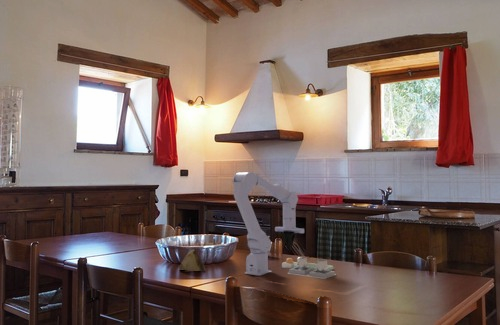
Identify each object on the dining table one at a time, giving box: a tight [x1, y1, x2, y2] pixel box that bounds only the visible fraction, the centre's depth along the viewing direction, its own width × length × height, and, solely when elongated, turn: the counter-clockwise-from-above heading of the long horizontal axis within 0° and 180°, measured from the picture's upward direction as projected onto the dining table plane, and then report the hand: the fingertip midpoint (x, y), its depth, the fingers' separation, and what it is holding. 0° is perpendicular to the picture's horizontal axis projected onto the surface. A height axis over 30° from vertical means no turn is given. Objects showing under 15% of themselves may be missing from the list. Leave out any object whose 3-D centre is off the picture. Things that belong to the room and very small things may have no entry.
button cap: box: [286, 257, 294, 264], centre depth 207 cm, size 3×3×3 cm
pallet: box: [287, 267, 337, 280], centre depth 191 cm, size 10×18×2 cm, turn 52°
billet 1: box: [296, 256, 308, 271], centre depth 195 cm, size 4×4×6 cm
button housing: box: [281, 261, 297, 269], centre depth 207 cm, size 5×5×2 cm
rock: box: [178, 248, 206, 272], centre depth 204 cm, size 11×9×10 cm
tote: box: [293, 262, 334, 271], centre depth 202 cm, size 8×15×2 cm, turn 52°
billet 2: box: [316, 259, 328, 274], centre depth 188 cm, size 4×4×6 cm
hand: (289, 248), depth 207 cm, fingers closed
